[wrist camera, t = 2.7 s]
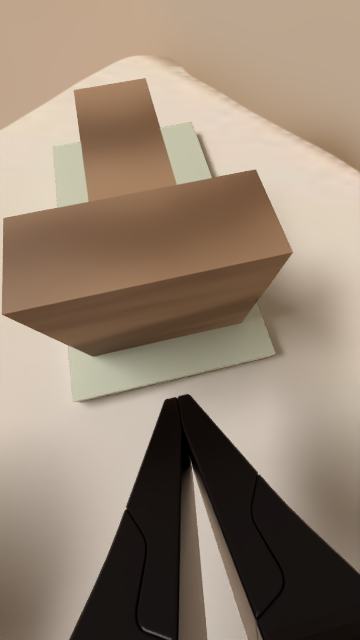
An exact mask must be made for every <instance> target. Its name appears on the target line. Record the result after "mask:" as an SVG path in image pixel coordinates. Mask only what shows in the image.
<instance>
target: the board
mask: <svg viewBox="0 0 360 640" xmlns="http://www.w3.org/2000/svg"><path fill="white" fill-rule="evenodd" d="M160 129H161V133H162V136H163V140H164V143H165V146H166V150H167V153H168V157H169V160H170V163H171V167H172V170H173V174H174V177H175V180H176V184H177V185H178V184H183V183H188V182H194V181H199V180H204V179H209V178H212V176H211V174H210V171H209V168H208V165H207V163H206V160H205V157H204V154H203V152H202V149H201V146H200V143H199V141H198V138H197V135H196V132H195V130H194V127H193V124H192V122H188V123H183V124H177V125H172V126H166V127H161V128H160ZM53 156H54V169H55V182H56V195H57V208H59V207H64V206H69V205H74V204H80V203H85V202H89V201H88V193H87V186H86V178H85V171H84V163H83V156H82V148H81V142H77V143H72V144H66V145H60V146H55V147H53ZM68 350H69V363H70V376H71V389H72V402H81V401H85V400H90V399H94V398H98V397H102V396H107V395H111V394H115V393H119V392H124V391H128V390H132V389H136V388H140V387H145V386H149V385H153V384H157V383H162V382H166V381H170V380H174V379H179V378H183V377H187V376H191V375H195V374H200V373H204V372H208V371H212V370H217V369H221V368H225V367H229V366H234V365H238V364H242V363H246V362H250V361H255V360H259V359H263V358H267V357H271V356H273V355H275V354H276V353H275V350H274V348H273V345H272V342H271V339H270V337H269V334H268V331H267V328H266V326H265V323H264V320H263V317H262V315H261V312H260V309H259V306H258V303H257V302H256V304H255V305H254V306H253V308H252V309H251V310H250V312H249V313H248V315H247V316H246V317H245V319H244V320H243V321H242V323H239V324H235V325H230V326H226V327H221V328H217V329H213V330H208V331H204V332H199V333H195V334H191V335H186V336H182V337H177V338H173V339H169V340H164V341H160V342H155V343H151V344H147V345H142V346H138V347H133V348H129V349H125V350H120V351H116V352H111V353H107V354H103V355H98V356H94V357H92V356H90V355H88V354H86V353H84V352H81V351H79V350H77V349H75V348H73V347H71V346H68Z"/></svg>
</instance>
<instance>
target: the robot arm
mask: <svg viewBox="0 0 360 640" xmlns="http://www.w3.org/2000/svg"><path fill="white" fill-rule="evenodd" d="M191 463H192V465H191ZM192 467H193V470H194V474H195V477H196V480H197V483H198V486H199V489H200V492H201V495H202V498H203V502H204V505H205V508H206V511H207V514H208V517H209V520H210V523H211V526H212V529H213V532H214V535H215V539H216V542H217V545H218V548H219V551H220V554H221V557H222V560H223V563H224V566H225V569H226V572H227V576H228V579H229V582H230V585H231V588H232V591H233V594H234V597H235V600H236V603H237V606H238V609H239V613H240V616H241V619H242V622H243V625H244V628H245V631H246V634H247V637H248V640H360V574H359V573H358V572H357V571H356V570H355V569H354V568H353V567H352V566H351V565H350V564H349V563H348V562H347V561H346V560H344V559H343V558H342V557H341V556H340V555H339V554H338V553H337V552H336V551H335V550H334V549H333V548H332V547H331V546H330V545H328V544H327V543H326V542H325V541H324V540H323V539H322V538H321V537H320V536H319V535H318V534H317V533H316V532H315V531H314V530H312V529H311V528H310V527H309V526H308V525H307V524H306V523H305V522H304V521H303V520H302V519H301V518H300V517H299V516H298V515H297V514H296V513H295V512H294V511H293V510H292V509H291V508H290V507H289V506H288V505H287V504H286V503H285V502H284V501H283V500H282V499H281V498H280V496H279V495H278V494H277V493H276V492H275V491H274V490H273V489H272V488H271V487H270V486H269V484H268V483H267V482H266V481H265V480H264V479H263V478H262V476H261V475H258V472H257V471H256V470H255V469H254V467H253V466H252V465H251V464H250V463H249V462H248V461H247V459H246V458H245V457H244V456H243V455H242V454H241V453H240V451H239V450H238V449H237V448H236V447H235V446H234V445H233V443H232V442H231V441H230V440H229V439H228V438H227V437H226V435H225V434H224V433H223V432H222V431H221V430H220V429H219V428H218V426H217V425H216V424H215V423H214V422H213V421H212V420H211V418H210V417H209V416H208V415H207V414H206V413H205V412H204V410H203V409H202V408H201V407H200V406H199V405H198V404H197V402H196V401H195V400H194V399H193V398H192V397H191V396H190V395H189V394H186V395H182V396H179V397H178V399H177V398H176V397H174V398H170V399H166V400H165V401H164V404H163V406H162V409H161V412H160V415H159V417H158V420H157V423H156V426H155V428H154V431H153V434H152V437H151V439H150V442H149V445H148V448H147V450H146V453H145V456H144V459H143V461H142V464H141V467H140V470H139V472H138V475H137V478H136V481H135V483H134V486H133V489H132V492H131V494H130V497H129V500H128V503H127V506H126V508H127V509H126V510H125V511H124V513H123V516H122V519H121V522H120V524H119V527H118V530H117V532H116V535H115V537H114V540H113V543H112V545H111V548H110V550H109V553H108V555H107V558H106V560H105V562H104V564H103V567H102V569H101V571H100V574H99V576H98V578H97V580H96V583H95V585H94V587H93V589H92V592H91V594H90V596H89V598H88V600H87V602H86V605H85V607H84V609H83V611H82V613H81V615H80V618H79V620H78V622H77V624H76V626H75V628H74V631H73V633H72V635H71V637H70V639H69V640H207V630H206V618H205V607H204V596H203V585H202V574H201V562H200V551H199V540H198V529H197V518H196V506H195V495H194V484H193V473H192Z"/></svg>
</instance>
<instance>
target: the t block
mask: <svg viewBox="0 0 360 640" xmlns="http://www.w3.org/2000/svg"><path fill="white" fill-rule="evenodd" d="M74 95H75V103H76V110H77V118H78V125H79V133H80V140H81V148H82V156H83V163H84V171H85V178H86V186H87V193H88V201H89V202H85V203H80V204H74V205H69V206H64V207H59V208H54V209H49V210H43V211H38V212H33V213H28V214H23V215H18V216H12V217H7V218H4V220H3V284H2V315H4V316H6V317H8V318H11V319H13V320H15V321H17V322H19V323H21V324H23V325H26V326H28V327H30V328H32V329H34V330H36V331H38V332H41V333H43V334H45V335H47V336H49V337H51V338H53V339H56V340H58V341H60V342H62V343H64V344H66V345H68V346H71V347H73V348H75V349H77V350H79V351H81V352H84V353H86V354H88V355H90V356H92V357H94V356H98V355H103V354H107V353H111V352H116V351H120V350H125V349H129V348H133V347H138V346H142V345H147V344H151V343H155V342H160V341H164V340H169V339H173V338H177V337H182V336H186V335H191V334H195V333H199V332H204V331H208V330H213V329H217V328H221V327H226V326H230V325H235V324H239V323H242V321H243V320H244V319H245V317H246V316H247V315H248V313H249V312H250V310H251V309H252V308H253V306H254V305H255V304H256V302H257V301H258V300H259V298H260V297H261V295H262V294H263V293H264V291H265V290H266V289H267V287H268V286H269V284H270V283H271V282H272V280H273V279H274V278H275V276H276V275H277V273H278V272H279V271H280V269H281V268H282V267H283V265H284V264H285V262H286V261H287V260H288V258H289V257H290V256H291V254H292V253H293V252H292V249H291V247H290V245H289V243H288V240H287V238H286V236H285V234H284V231H283V229H282V227H281V225H280V223H279V220H278V218H277V216H276V214H275V211H274V209H273V207H272V205H271V202H270V200H269V198H268V196H267V194H266V191H265V189H264V187H263V185H262V182H261V180H260V178H259V176H258V173H257V171H256V170H251V171H245V172H240V173H235V174H230V175H225V176H219V177H214V178H209V179H204V180H199V181H194V182H188V183H183V184H178V185H177V184H176V180H175V177H174V174H173V170H172V167H171V163H170V160H169V157H168V153H167V150H166V146H165V143H164V140H163V136H162V133H161V129H160V126H159V123H158V119H157V116H156V112H155V109H154V106H153V102H152V99H151V95H150V92H149V89H148V85H147V82H146V78H144V79H138V80H132V81H126V82H120V83H114V84H108V85H102V86H97V87H91V88H85V89H79V90H74Z"/></svg>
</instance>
